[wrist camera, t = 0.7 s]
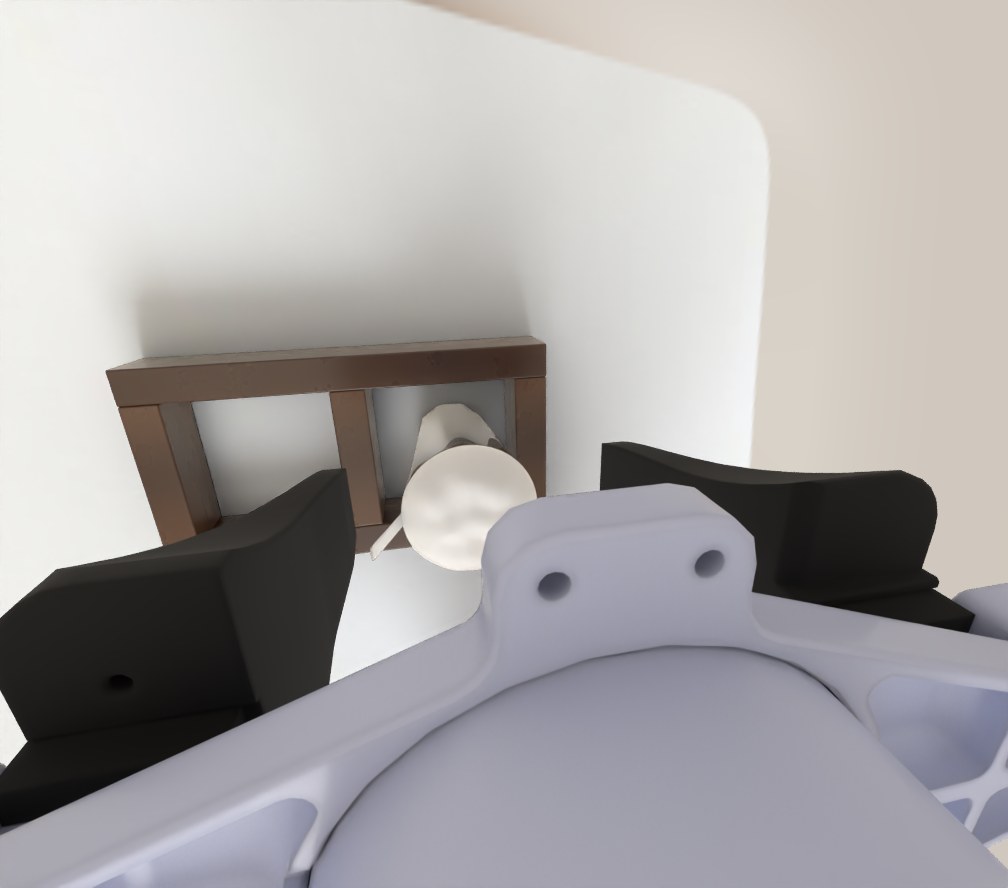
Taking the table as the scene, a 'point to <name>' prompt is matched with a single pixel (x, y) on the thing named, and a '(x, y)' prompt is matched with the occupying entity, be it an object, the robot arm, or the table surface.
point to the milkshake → (457, 489)
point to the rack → (349, 379)
